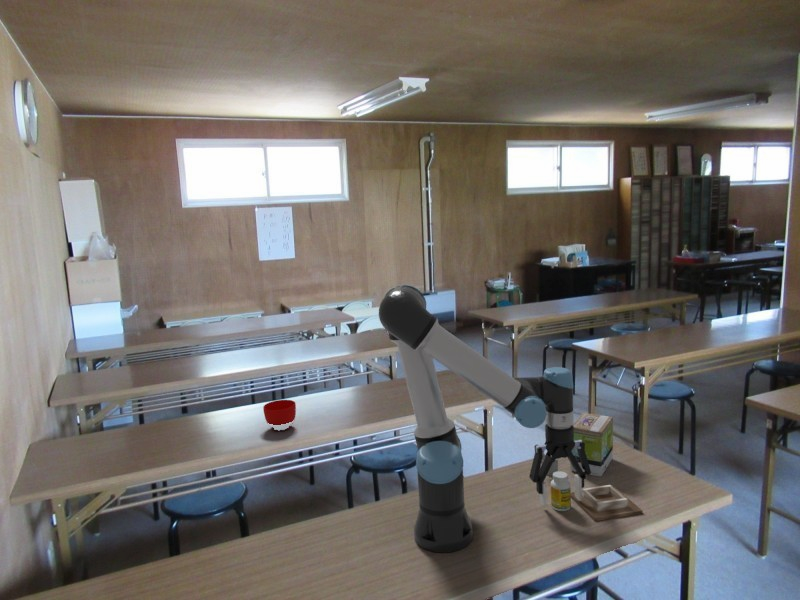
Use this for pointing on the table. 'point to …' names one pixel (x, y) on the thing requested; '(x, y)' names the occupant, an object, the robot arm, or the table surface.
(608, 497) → the socket board
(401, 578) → the table surface
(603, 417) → the tea box
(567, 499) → the supplement bottle
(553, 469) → the lighter
